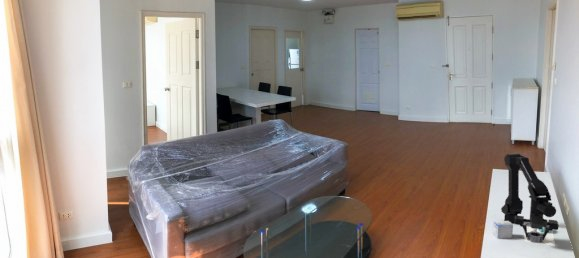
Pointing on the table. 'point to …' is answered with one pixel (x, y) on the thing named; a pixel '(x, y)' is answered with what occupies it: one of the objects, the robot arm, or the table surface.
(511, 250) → the table surface
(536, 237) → the gear
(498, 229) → the medicine box
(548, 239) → the gear board
